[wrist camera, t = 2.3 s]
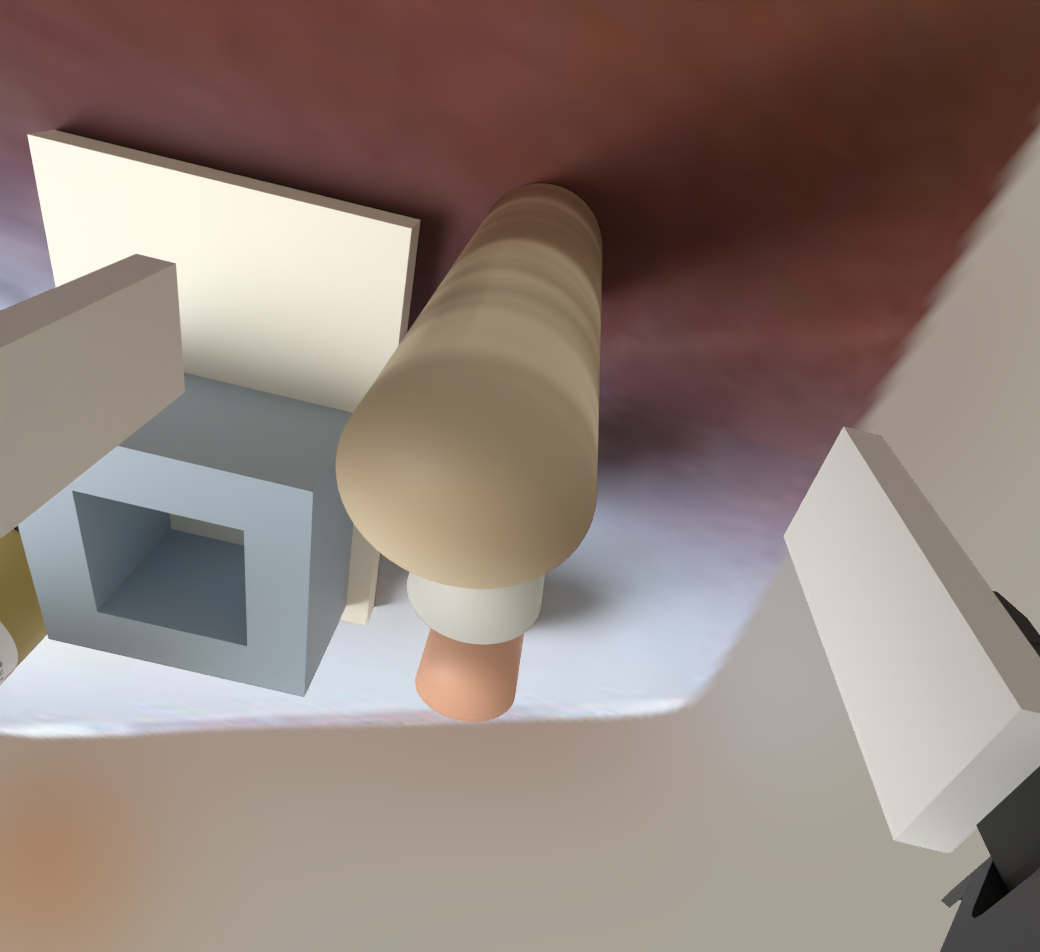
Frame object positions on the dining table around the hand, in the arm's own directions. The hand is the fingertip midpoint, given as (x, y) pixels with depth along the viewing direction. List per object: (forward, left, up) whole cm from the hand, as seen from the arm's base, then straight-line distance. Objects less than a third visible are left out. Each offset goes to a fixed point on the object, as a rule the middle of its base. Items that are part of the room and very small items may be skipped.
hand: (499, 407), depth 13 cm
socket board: (+9, -10, -11) cm, 17 cm away
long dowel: (0, 0, -11) cm, 11 cm away
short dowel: (+16, +1, -11) cm, 19 cm away
